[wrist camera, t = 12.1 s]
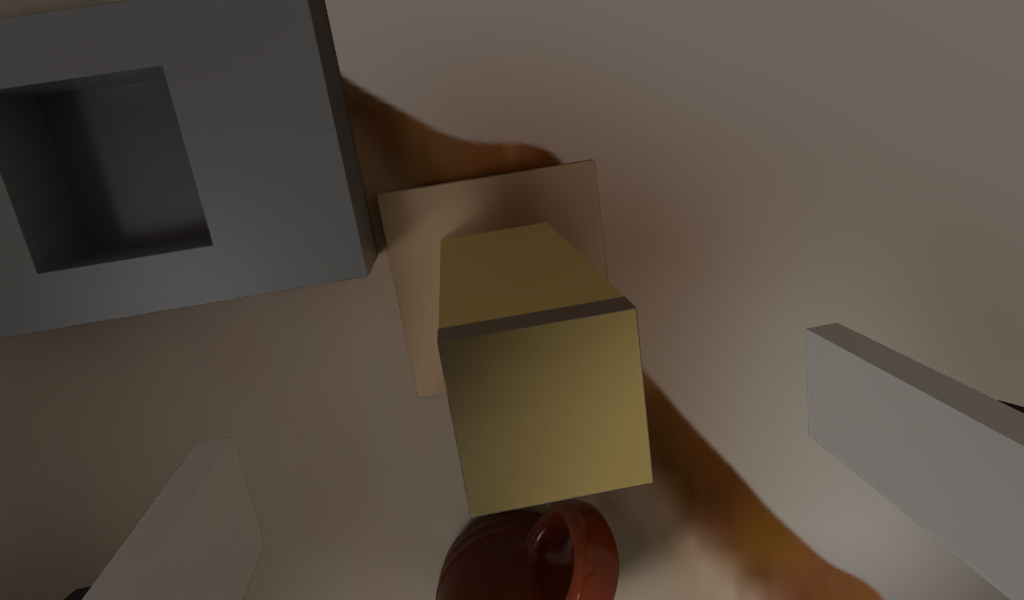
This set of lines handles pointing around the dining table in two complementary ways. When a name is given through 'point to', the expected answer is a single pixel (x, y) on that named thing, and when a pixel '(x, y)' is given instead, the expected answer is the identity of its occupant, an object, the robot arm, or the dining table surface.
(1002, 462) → the robot arm
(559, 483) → the plug
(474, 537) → the mug
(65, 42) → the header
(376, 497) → the dining table surface
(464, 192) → the pad
